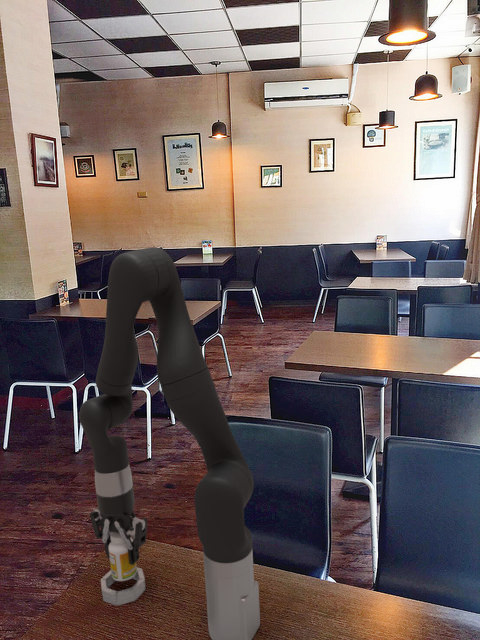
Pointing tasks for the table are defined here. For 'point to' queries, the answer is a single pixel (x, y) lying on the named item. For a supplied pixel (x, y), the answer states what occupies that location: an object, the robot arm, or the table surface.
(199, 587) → the table surface
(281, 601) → the table surface
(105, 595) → the ring holder
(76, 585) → the table surface
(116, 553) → the supplement bottle
